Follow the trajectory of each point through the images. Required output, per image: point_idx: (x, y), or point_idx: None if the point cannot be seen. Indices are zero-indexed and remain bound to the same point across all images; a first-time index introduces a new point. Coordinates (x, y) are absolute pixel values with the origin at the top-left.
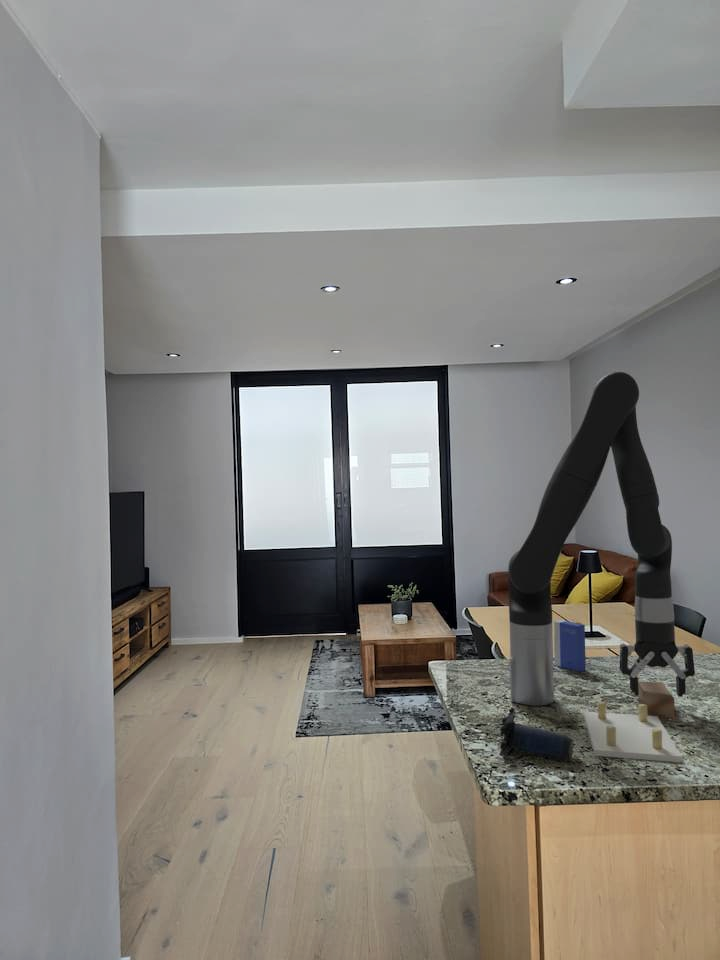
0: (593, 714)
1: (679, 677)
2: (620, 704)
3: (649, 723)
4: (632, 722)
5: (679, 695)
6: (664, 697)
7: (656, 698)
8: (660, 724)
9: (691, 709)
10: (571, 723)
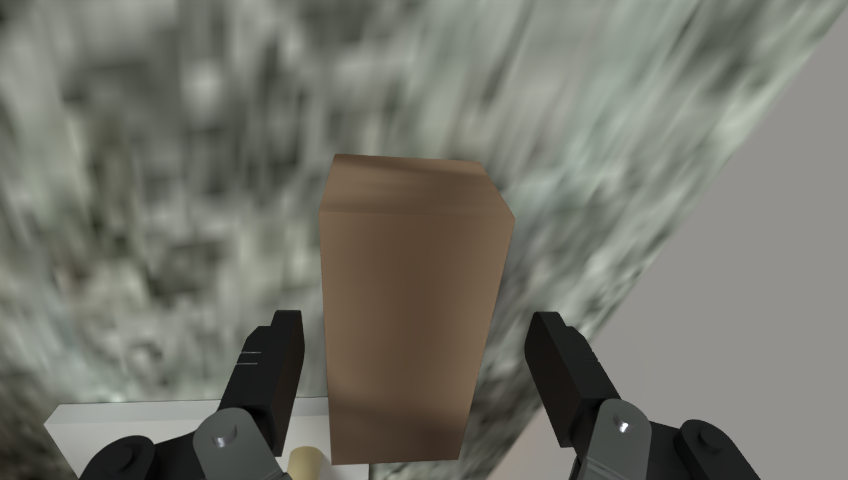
0: (99, 441)
1: (577, 449)
2: (221, 229)
3: (325, 469)
4: None
5: (527, 357)
6: (416, 455)
7: (375, 460)
8: (362, 469)
9: (576, 251)
10: (33, 461)
